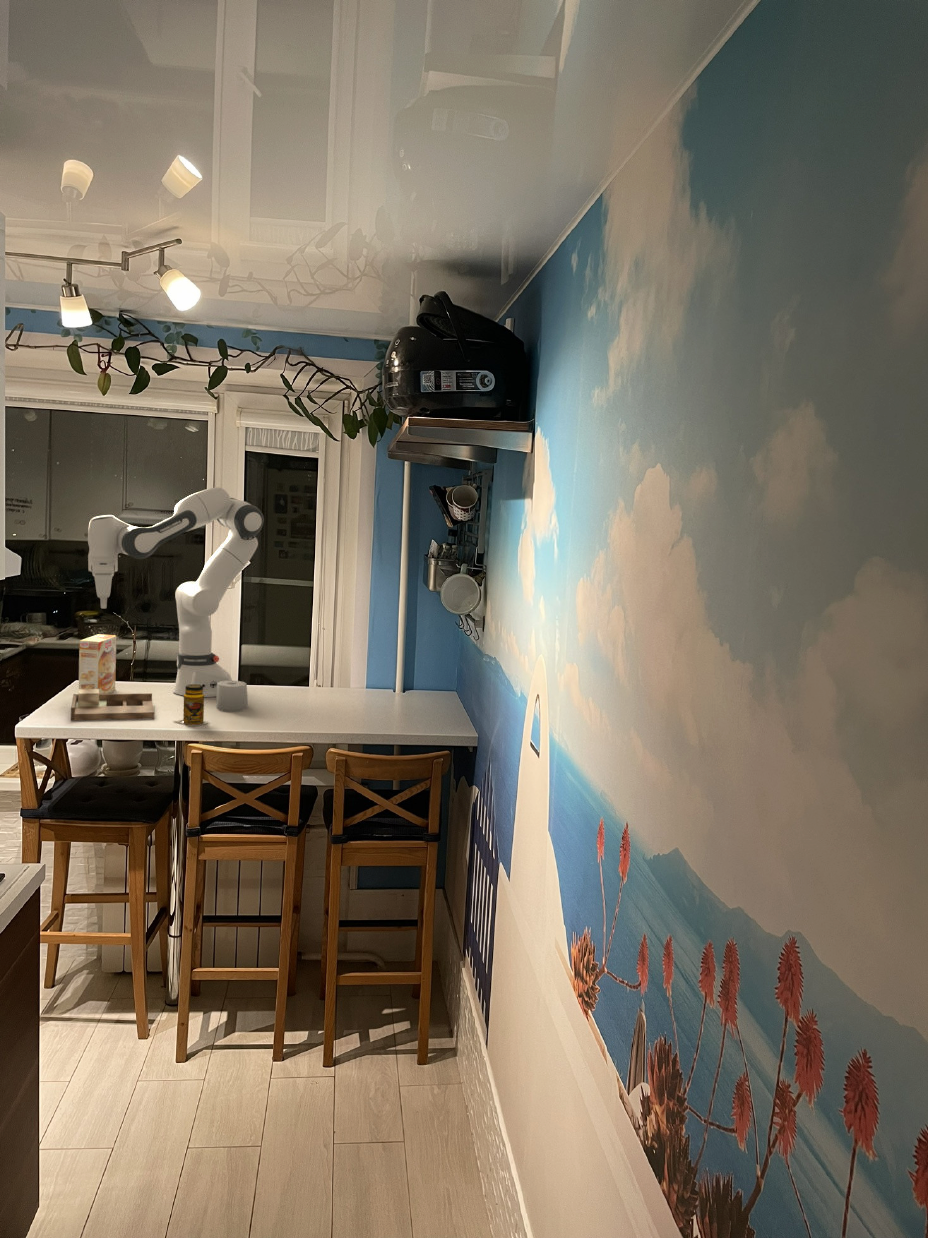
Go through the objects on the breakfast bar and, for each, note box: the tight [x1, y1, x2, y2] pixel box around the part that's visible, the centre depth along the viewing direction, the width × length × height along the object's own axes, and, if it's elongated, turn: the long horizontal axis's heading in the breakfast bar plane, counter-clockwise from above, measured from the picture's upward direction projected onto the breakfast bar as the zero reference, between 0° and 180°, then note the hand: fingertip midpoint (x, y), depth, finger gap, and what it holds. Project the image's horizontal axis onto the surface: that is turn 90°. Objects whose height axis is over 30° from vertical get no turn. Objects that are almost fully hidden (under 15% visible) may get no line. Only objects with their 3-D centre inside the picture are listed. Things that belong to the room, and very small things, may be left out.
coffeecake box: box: [78, 633, 117, 694], centre depth 312 cm, size 15×7×20 cm, turn 179°
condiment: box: [173, 684, 210, 728], centre depth 284 cm, size 7×8×12 cm
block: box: [77, 688, 99, 706], centre depth 291 cm, size 6×6×4 cm
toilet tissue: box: [215, 680, 249, 713], centre depth 307 cm, size 9×13×9 cm
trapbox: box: [70, 692, 155, 721], centre depth 290 cm, size 24×18×4 cm
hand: (103, 607), depth 297 cm, fingers closed
